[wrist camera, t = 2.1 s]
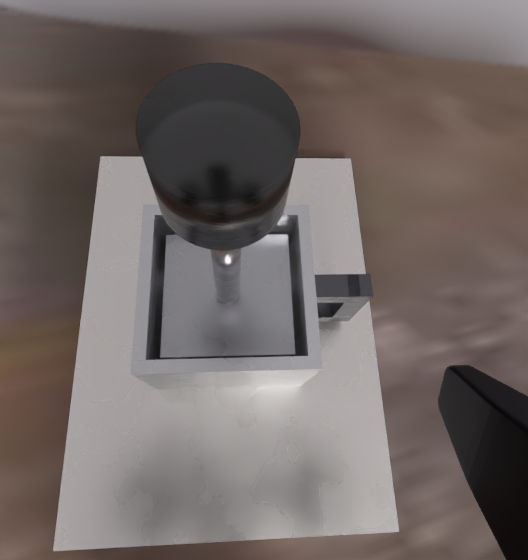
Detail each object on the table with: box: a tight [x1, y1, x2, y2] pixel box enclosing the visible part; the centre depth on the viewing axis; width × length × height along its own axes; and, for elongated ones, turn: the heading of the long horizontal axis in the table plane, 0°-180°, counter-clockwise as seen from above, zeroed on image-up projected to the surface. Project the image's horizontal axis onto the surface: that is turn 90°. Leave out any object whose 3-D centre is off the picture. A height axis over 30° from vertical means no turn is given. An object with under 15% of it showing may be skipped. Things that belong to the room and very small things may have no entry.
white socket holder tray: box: [53, 156, 399, 551], centre depth 19 cm, size 20×15×6 cm
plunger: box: [136, 63, 300, 360], centre depth 13 cm, size 5×5×11 cm
